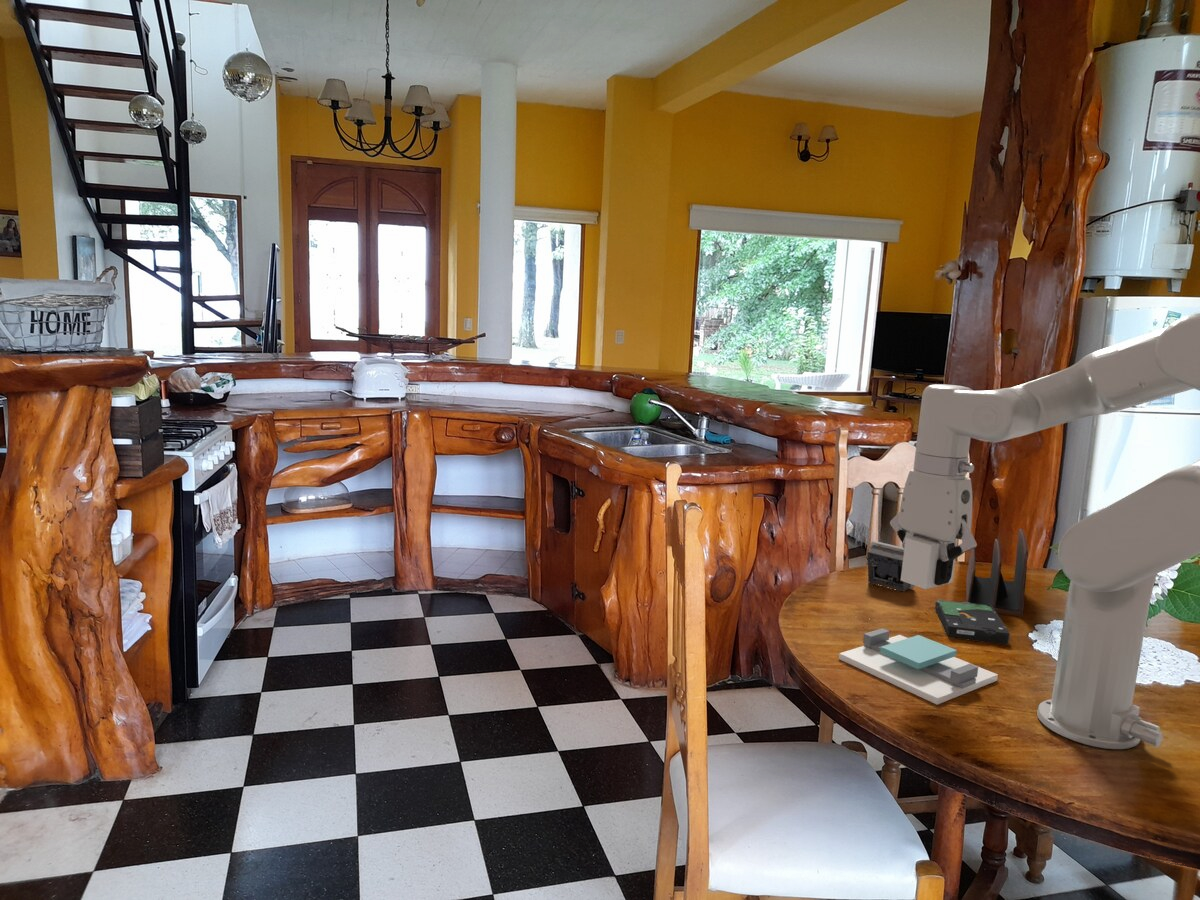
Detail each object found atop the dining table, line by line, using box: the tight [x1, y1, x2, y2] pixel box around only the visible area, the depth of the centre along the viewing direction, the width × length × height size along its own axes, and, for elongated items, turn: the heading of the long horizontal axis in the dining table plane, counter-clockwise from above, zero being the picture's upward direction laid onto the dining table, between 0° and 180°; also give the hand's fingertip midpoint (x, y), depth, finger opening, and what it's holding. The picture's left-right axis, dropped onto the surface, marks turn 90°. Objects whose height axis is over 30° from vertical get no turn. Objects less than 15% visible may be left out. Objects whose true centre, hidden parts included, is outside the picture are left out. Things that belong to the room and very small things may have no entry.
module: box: [901, 535, 959, 590], centre depth 130 cm, size 5×7×7 cm
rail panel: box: [838, 627, 999, 705], centre depth 132 cm, size 18×16×3 cm
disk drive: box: [934, 598, 1011, 646], centre depth 153 cm, size 10×3×15 cm
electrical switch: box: [866, 540, 916, 593], centre depth 172 cm, size 9×5×9 cm, turn 47°
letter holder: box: [965, 528, 1029, 618], centre depth 168 cm, size 10×20×14 cm, turn 156°
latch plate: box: [880, 634, 958, 669], centre depth 132 cm, size 7×10×1 cm
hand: (926, 577), depth 130 cm, fingers closed on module, 4 cm apart
